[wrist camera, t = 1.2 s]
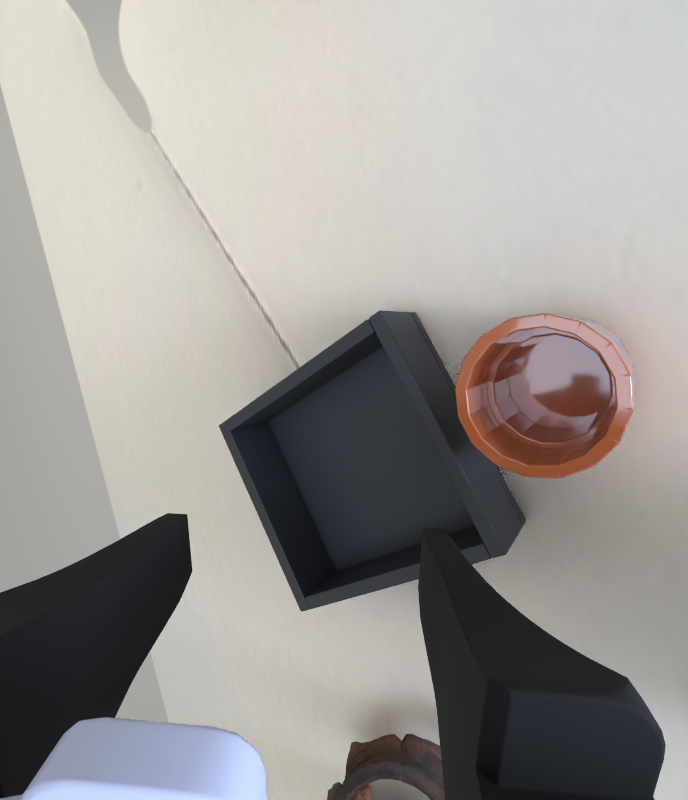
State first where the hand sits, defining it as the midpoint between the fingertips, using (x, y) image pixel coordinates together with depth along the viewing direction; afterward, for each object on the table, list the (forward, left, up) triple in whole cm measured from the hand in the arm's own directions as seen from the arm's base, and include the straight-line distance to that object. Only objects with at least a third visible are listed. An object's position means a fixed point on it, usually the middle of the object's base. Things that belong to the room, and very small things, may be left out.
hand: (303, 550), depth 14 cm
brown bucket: (-7, -1, -12) cm, 13 cm away
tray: (+4, -1, -12) cm, 12 cm away
